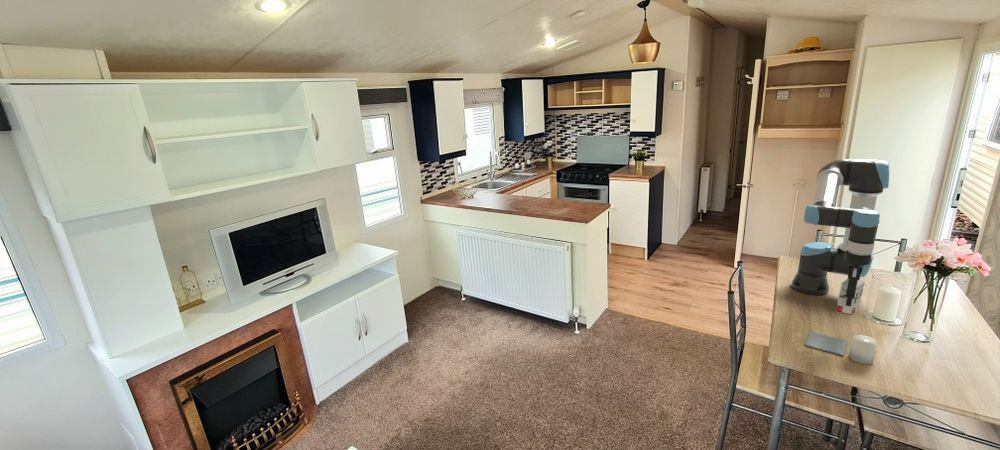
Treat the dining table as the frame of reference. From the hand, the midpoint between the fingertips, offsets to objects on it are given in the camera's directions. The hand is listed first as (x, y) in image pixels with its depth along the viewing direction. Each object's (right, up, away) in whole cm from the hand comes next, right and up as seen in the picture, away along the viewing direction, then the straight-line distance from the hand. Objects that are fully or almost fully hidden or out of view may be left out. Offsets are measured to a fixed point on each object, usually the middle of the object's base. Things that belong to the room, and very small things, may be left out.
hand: (847, 307), depth 166 cm
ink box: (0, -1, 0) cm, 1 cm away
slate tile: (-5, -15, +5) cm, 17 cm away
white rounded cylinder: (+1, -18, -5) cm, 19 cm away
